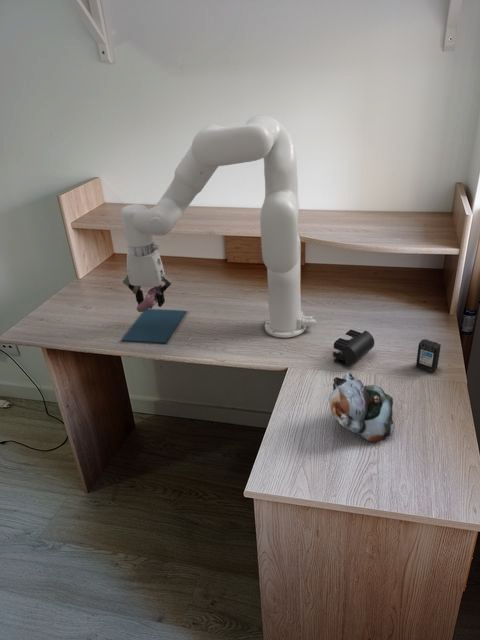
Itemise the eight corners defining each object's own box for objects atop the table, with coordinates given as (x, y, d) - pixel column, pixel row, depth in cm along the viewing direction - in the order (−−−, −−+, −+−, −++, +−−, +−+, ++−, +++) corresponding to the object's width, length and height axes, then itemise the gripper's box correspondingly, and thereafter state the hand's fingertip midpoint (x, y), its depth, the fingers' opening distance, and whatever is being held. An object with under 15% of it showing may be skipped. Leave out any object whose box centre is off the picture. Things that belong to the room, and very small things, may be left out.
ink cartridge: (415, 367, 136) (418, 342, 132) (419, 363, 138) (422, 338, 134) (433, 373, 134) (437, 347, 129) (437, 369, 135) (441, 343, 131)
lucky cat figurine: (393, 448, 111) (368, 411, 103) (342, 452, 118) (315, 418, 110) (398, 392, 121) (375, 355, 113) (351, 399, 127) (326, 364, 119)
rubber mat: (186, 312, 170) (186, 310, 170) (165, 344, 154) (165, 342, 153) (146, 310, 173) (146, 309, 172) (121, 341, 156) (121, 339, 156)
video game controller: (148, 318, 156) (155, 300, 152) (134, 311, 156) (141, 293, 152) (160, 303, 164) (167, 285, 160) (147, 296, 164) (153, 279, 160)
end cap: (354, 371, 137) (356, 349, 133) (332, 362, 141) (332, 341, 137) (373, 354, 143) (375, 333, 139) (351, 346, 147) (352, 325, 143)
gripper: (173, 244, 151) (181, 300, 161) (118, 243, 154) (130, 297, 164) (165, 254, 145) (174, 311, 154) (108, 253, 148) (120, 308, 158)
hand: (151, 303), depth 159 cm, fingers closed on video game controller, 5 cm apart
